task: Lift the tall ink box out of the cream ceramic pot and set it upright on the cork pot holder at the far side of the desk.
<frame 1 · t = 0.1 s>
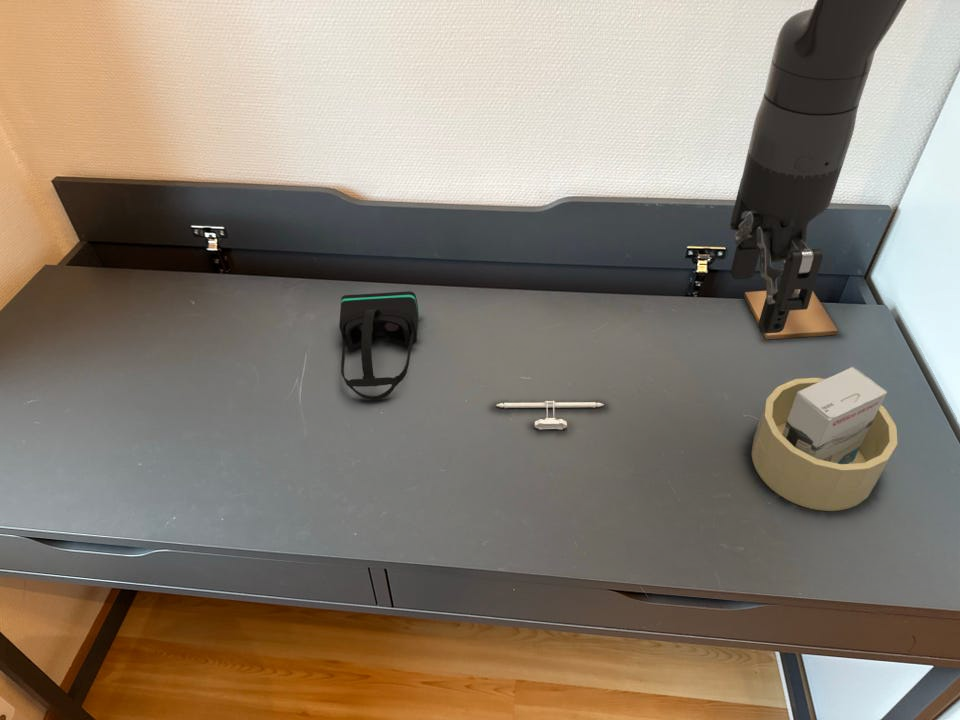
hand: (754, 302, 70), 23 cm above the table, tool pointing down, fingers open, 8 cm apart
picture light: (550, 418, 91), on the table
virtual reality headset: (379, 361, 101), on the table
pot holder: (788, 314, 103), on the table
ink box: (812, 461, 83), resting on pot
pot: (811, 463, 84), on the table
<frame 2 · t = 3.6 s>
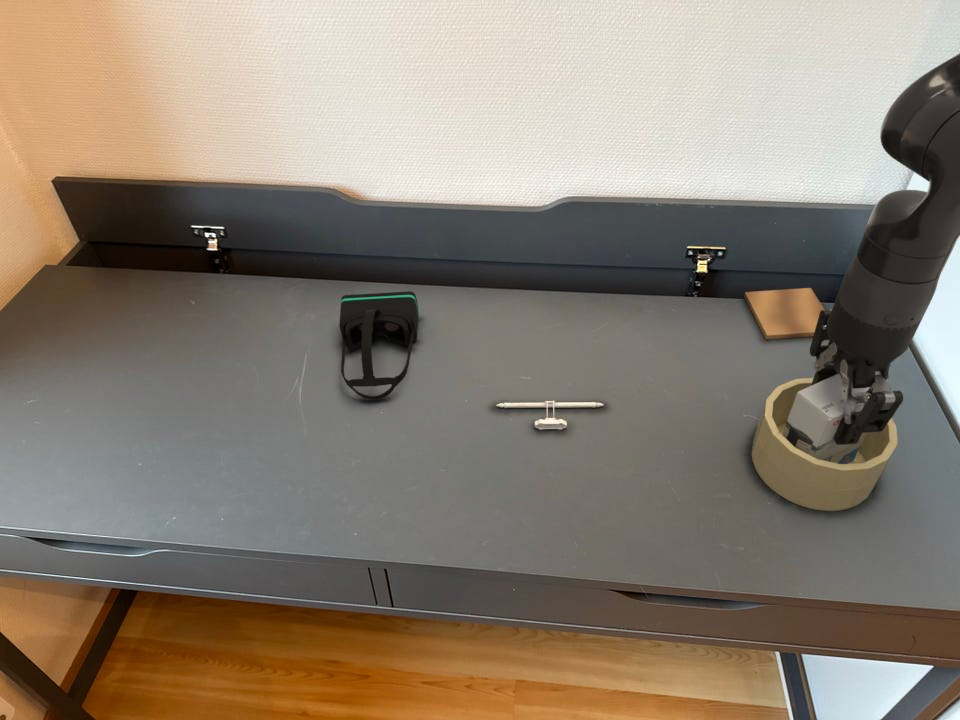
hand: (830, 417, 78), 8 cm above the table, tool pointing down, fingers closed on ink box, 6 cm apart
ink box: (812, 461, 83), resting on pot, touching gripper
everything else where it was.
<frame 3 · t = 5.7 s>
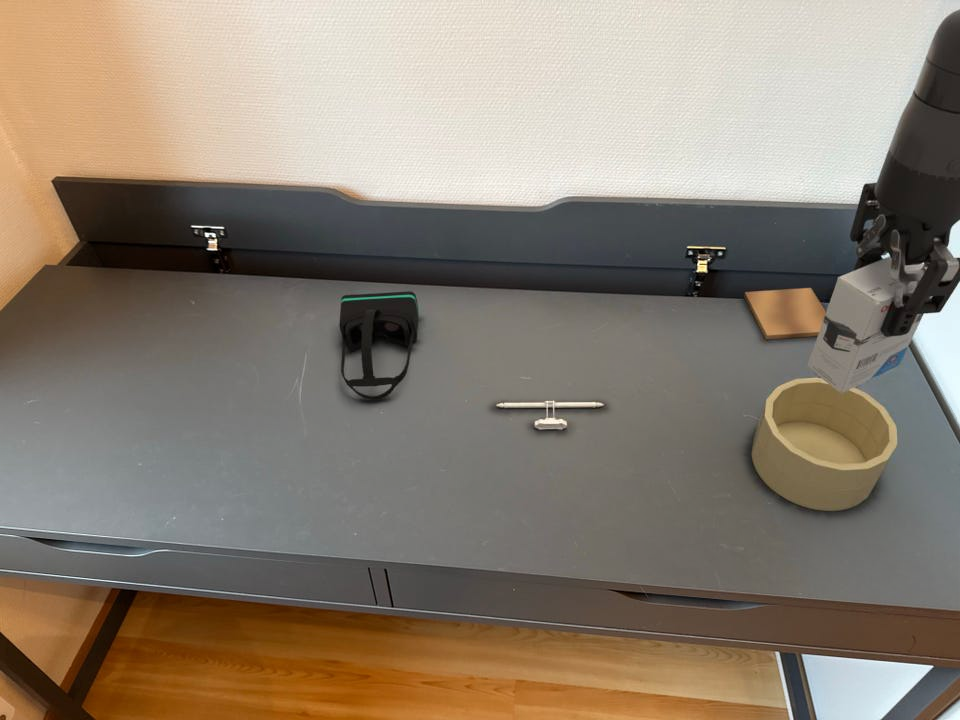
hand: (875, 310, 68), 23 cm above the table, tool pointing down, fingers closed on ink box, 6 cm apart
ink box: (851, 367, 74), point 15 cm above the table, touching gripper
everything else where it was.
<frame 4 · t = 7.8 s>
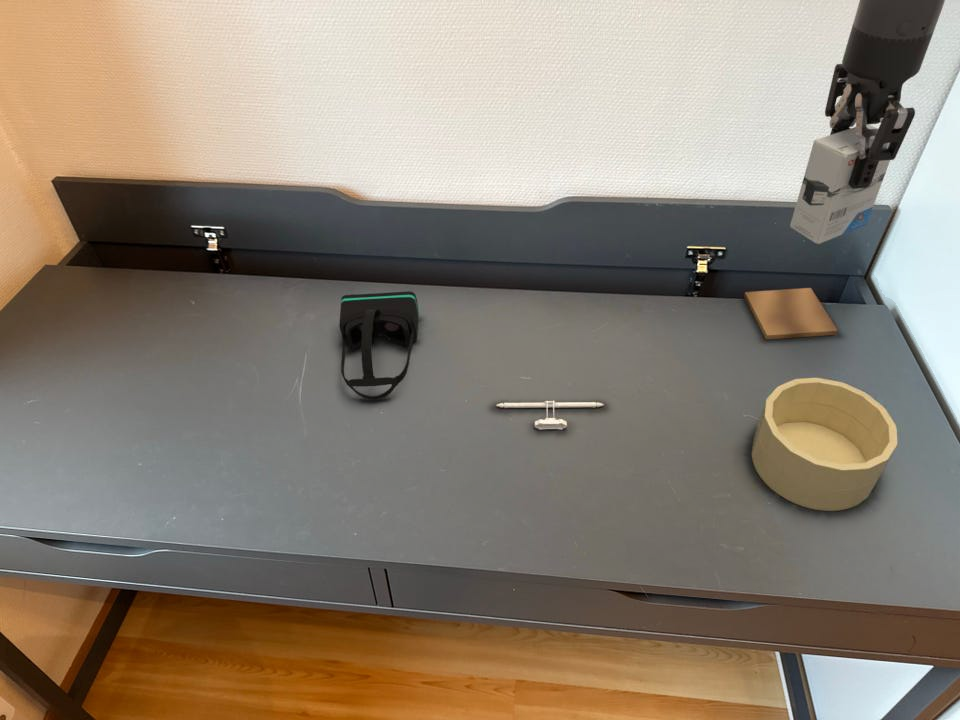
hand: (845, 171, 83), 25 cm above the table, tool pointing down, fingers closed on ink box, 6 cm apart
ink box: (827, 227, 88), point 18 cm above the table, touching gripper
everything else where it was.
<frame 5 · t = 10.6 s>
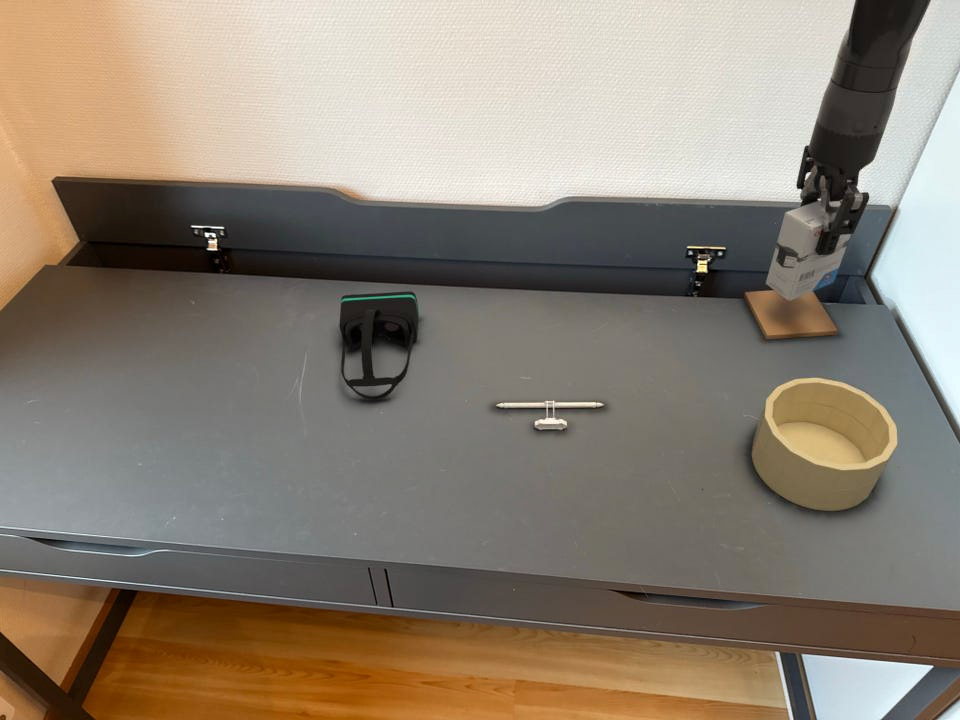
hand: (813, 238, 94), 13 cm above the table, tool pointing down, fingers closed on ink box, 6 cm apart
ink box: (798, 284, 99), point 6 cm above the table, touching gripper
everything else where it was.
when the fingers open (8 cm above the table, at t = 12.5 s): ink box stays where it is, resting on pot holder.
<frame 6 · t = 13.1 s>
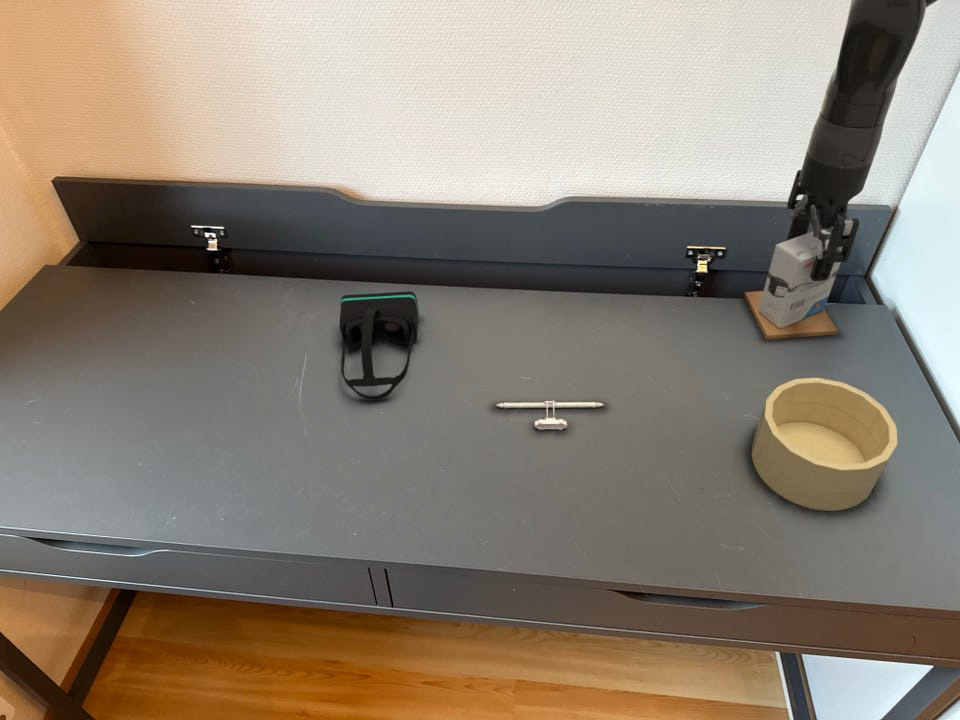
hand: (806, 260, 97), 10 cm above the table, tool pointing down, fingers open, 8 cm apart
ink box: (790, 312, 103), point 1 cm above the table, touching pot holder
everything else where it was.
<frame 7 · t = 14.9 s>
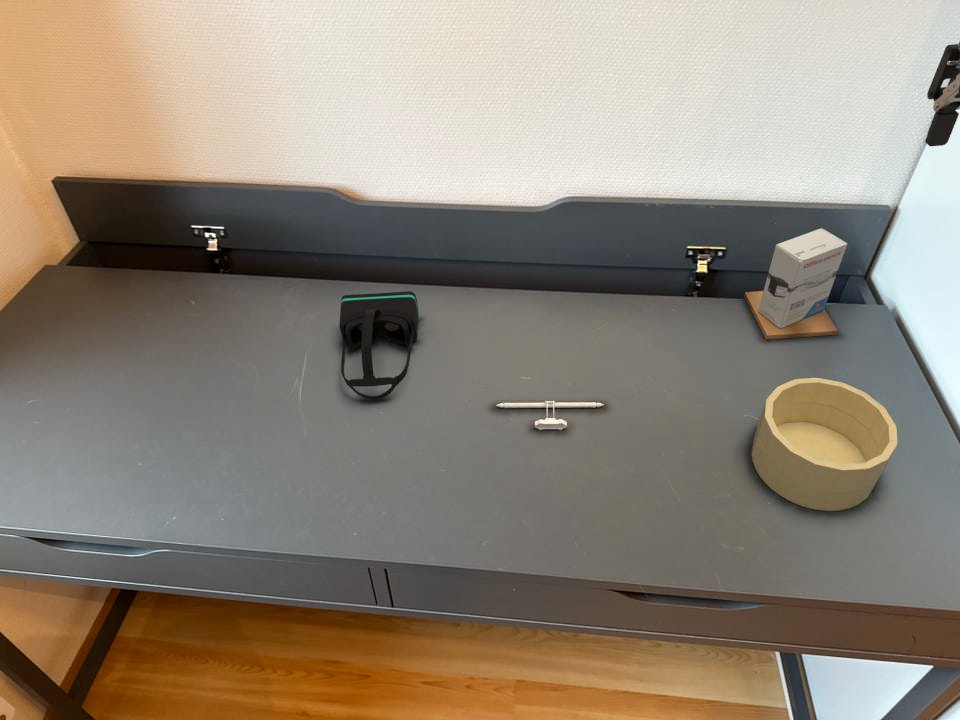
hand: (954, 162, 77), 29 cm above the table, tool pointing down, fingers open, 8 cm apart
nothing on the table moved.
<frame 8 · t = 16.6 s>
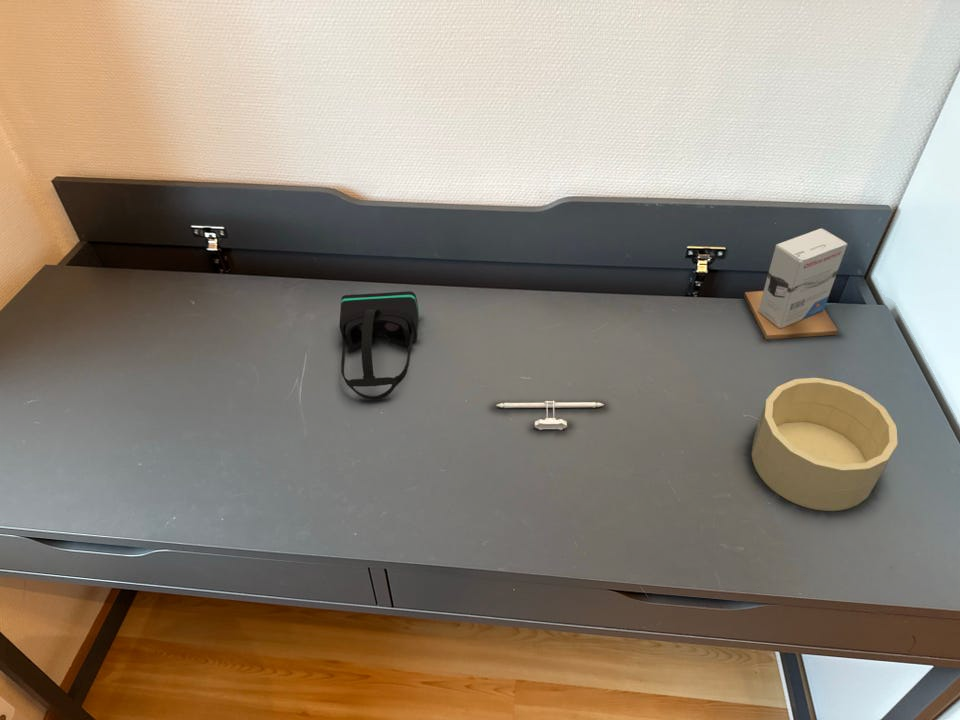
nothing on the table moved.
at the end: ink box 0.1 cm off-centre on the pot holder, point 0.6 cm above the pot holder's base; ink box tilted 0°; ink box touching pot holder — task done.
